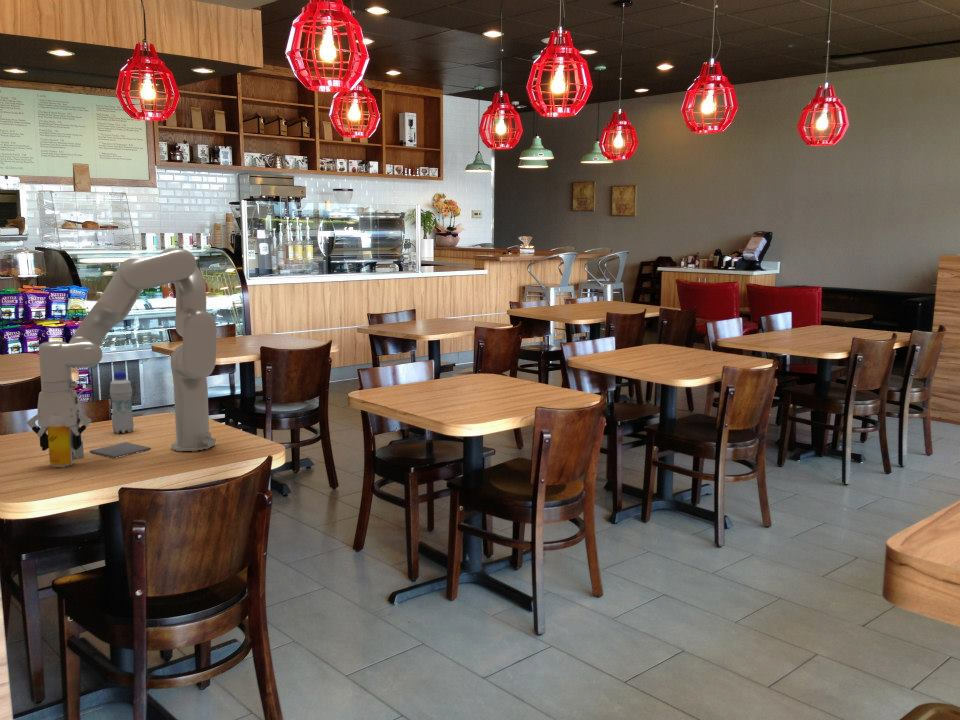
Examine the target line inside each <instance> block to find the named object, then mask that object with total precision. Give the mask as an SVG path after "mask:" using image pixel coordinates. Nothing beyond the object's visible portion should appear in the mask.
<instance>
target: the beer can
mask: <svg viewBox="0 0 960 720" xmlns="http://www.w3.org/2000/svg"><path fill="white" fill-rule="evenodd" d="M47 435H48V443H49V448H48V455H49V464H50V466H51V467H52V466H53V467H52V468H55V467H62V468H66V467H65V466H68V467H70V466H69V465H71V466H72V465H73V464H74V463H75V459H74V448H73V432H72V430H71V429H70V427H69V428H68V427H66V425H65V422H64V418H63V417H62V416H60V414H58V415H52V416H50V417H49V418H48V428H47Z"/></svg>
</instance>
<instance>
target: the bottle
mask: <svg viewBox="0 0 960 720" xmlns="http://www.w3.org/2000/svg"><path fill="white" fill-rule="evenodd" d="M109 384H110V386H109V395H110V396H109V397H110V398H111V411H112V412H111V413H112V414H111V415H112V416H111V417H112V419H111V420H112V423H111V425H112V426H111V427H112V431H113V432H114V433H116V434H118V433H119V434H123V433H124V434H125V433H127V434H128V433H130V432H133V430H134V416H133V405H132V396H133V387H132V383H131V381H130V380H128V379H127V375H126V373H125V371H117V372H115V373H114V379H113V380H112V381H111V382H110V383H109ZM120 432H121V433H120Z"/></svg>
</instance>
